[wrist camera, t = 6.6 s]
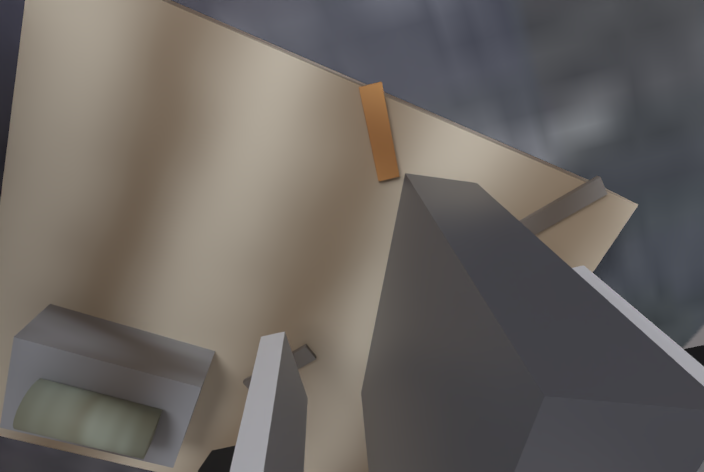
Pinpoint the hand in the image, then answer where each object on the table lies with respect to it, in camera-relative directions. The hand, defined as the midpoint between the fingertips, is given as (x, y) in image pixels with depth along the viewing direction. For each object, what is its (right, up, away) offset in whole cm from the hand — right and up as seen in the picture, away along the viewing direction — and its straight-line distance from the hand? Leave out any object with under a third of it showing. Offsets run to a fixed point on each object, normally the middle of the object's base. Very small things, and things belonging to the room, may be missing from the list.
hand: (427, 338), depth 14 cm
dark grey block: (0, +1, +3) cm, 3 cm away
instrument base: (-5, +1, +6) cm, 8 cm away
